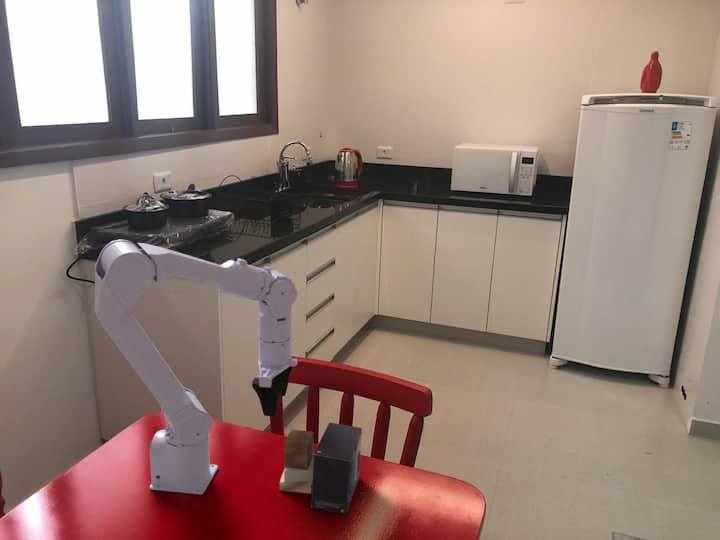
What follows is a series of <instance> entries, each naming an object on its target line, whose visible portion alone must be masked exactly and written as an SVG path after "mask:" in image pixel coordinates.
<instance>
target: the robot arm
mask: <svg viewBox="0 0 720 540" xmlns="http://www.w3.org/2000/svg"><path fill="white" fill-rule="evenodd" d="M137 244H138V245H139V246H140V247H141V248H139V247H138V246H137ZM137 244H135V243H134V242H132V241H131V240H127V239H117V240H116V239H115V240H112V241H110V242H109V243H107V244H106V245H105V246H103V248H102V250H101V251H100V253H99V254H98V255H99V256H98V258H97V260H96V262H95V264H94V281H95V282H94V305H93V311H94V314H95V316H96V319H98V321H99V324H100V325H101V326H102V327H103V329H104V330H105V332H106V333H107V334H108V335H109V337H110V339H111V340H112V342H113V343H115V345H116V346H117V348H118V350H119V351H120V352H121V353H122V355H123V356H124V357H125V359H126V360H127V361H128V363H129V364H130V366H131V367H132V368H133V370H134V371H135V373H136V374H137V376H138V377H139V378H140V379H141V380H142V382H143V383H144V385H145V386H146V387H147V389H148V390H149V392H150V393H151V394H152V396H153V397H154V398H155V400H156V401H157V403H158V404H159V405H160V408H161V409H160V410H161V413H162V416H163V417H164V419H165V420H166V421H167V426H166V428H165V429H160V430H158V431H157V432H156V433H155V434H154V436H153V438H152V440H151V443H150V447H149V448H150V449H149V462H150V463H149V465H150V467H149V468H150V479H151V481H150V482H151V483H150V485H149V490H152V491H163V492H171V493H182V494H190V495H191V494H193V495H203V494H204V493H205V491H206V490H207V488H208V486H209V484H210V483H211V482H212V480H213V478H214V476H215V474H216V473H217V471H218V469H219V465H217V464H211V463H210V462H211V461H210V434H211V431H212V427H213V419H212V417H211V416H210V413H208V412H207V411H206V409H205V408H204V407H203V405H202V404H201V402H200V401H199V399H198V397H197V395H196V394H195V392H194V391H193V390H191V389H188V387H187V388H186V387H185V386H183V385H182V384H181V382H180V381H179V379H178V377H177V376H176V374H175V373H174V372H173V371H172V369H171V368H170V366H169V365H168V364H167V362H166V360H165V359H164V357H163V356H162V355H161V353H160V351H159V350H158V349H157V347H156V346H155V344H154V343H153V342H152V340H151V339H150V337H149V336H148V335H147V332H146V331H145V329H143V327H142V326H141V324H140V323H139V322H138V321H139V320H137V319H136V317H135V315H134V314H133V312H134V309H135V307H136V304H137V301H138V300H139V298H140V297H142V295H143V294H144V293H145V291H146V290H147V289H148V288H149V287H150V285H151V284H152V283H153V281H154V282H155V283H156V284H158V285H159V284H160V283H162V282H164V281H165V280H167V279H168V278H170V277H172V276H173V277H179V278H184V279H189V280H193V281H199V282H204V283H210V284H215V285H216V286H217V288H218V290H219V292H220V293H222V294H225V295H228V296H233V297H237V298H240V299H241V298H242V299H247V300H250V301H254V302H258V356H259V357H258V358H257V359H258V360H257V365H258V369H259V376H258V377H254V378H253V380H252V381H251V386H252V387H251V388H252V389H253V390H254V392H255V394H256V395H257V397H258V400H259V402H260V405H261V410H262V414H263V415H264V416H265V417H276V415H277V412H278V408H279V401H280V397H285V396H286V393H287V391H288V385H289V380H290V377H291V373H292V371H293V367H296V366H297V364H298V359H297V358H296V357H293V356H292V307H293V304H294V303H295V301H297V298H298V292H299V291H298V290H297V289H296V285H295V283H294V282H293V281H292V279H291V278H290V277H288V276H287V275H285V274H283V273H281V272H280V271H278V270H275V269H273V268H272V267H268V266H264V267H263V268H261V267H258V266H255V265H250V264H248V261H247V260H245V259H243V258H237V259H236V260H233V259H230V260H227V261H225V262H223V263H221V264H217V263H215V262H212V261H208V260H206V259H201V258H199V257H194V256H192V255H189V254H185V253H181V252H179V251H176V250H173V249H168V248H165V247H161V246H158V245H153V244H149V243H144V242H137Z"/></svg>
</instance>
